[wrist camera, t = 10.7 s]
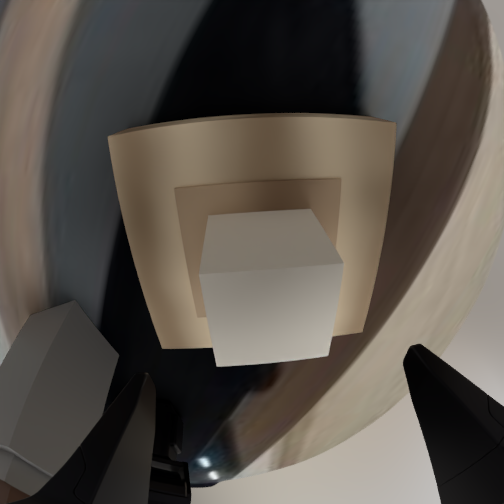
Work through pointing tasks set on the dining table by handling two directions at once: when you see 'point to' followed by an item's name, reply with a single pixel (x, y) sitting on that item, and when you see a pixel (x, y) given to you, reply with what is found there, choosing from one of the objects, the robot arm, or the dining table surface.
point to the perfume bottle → (50, 396)
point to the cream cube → (269, 286)
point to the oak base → (250, 200)
